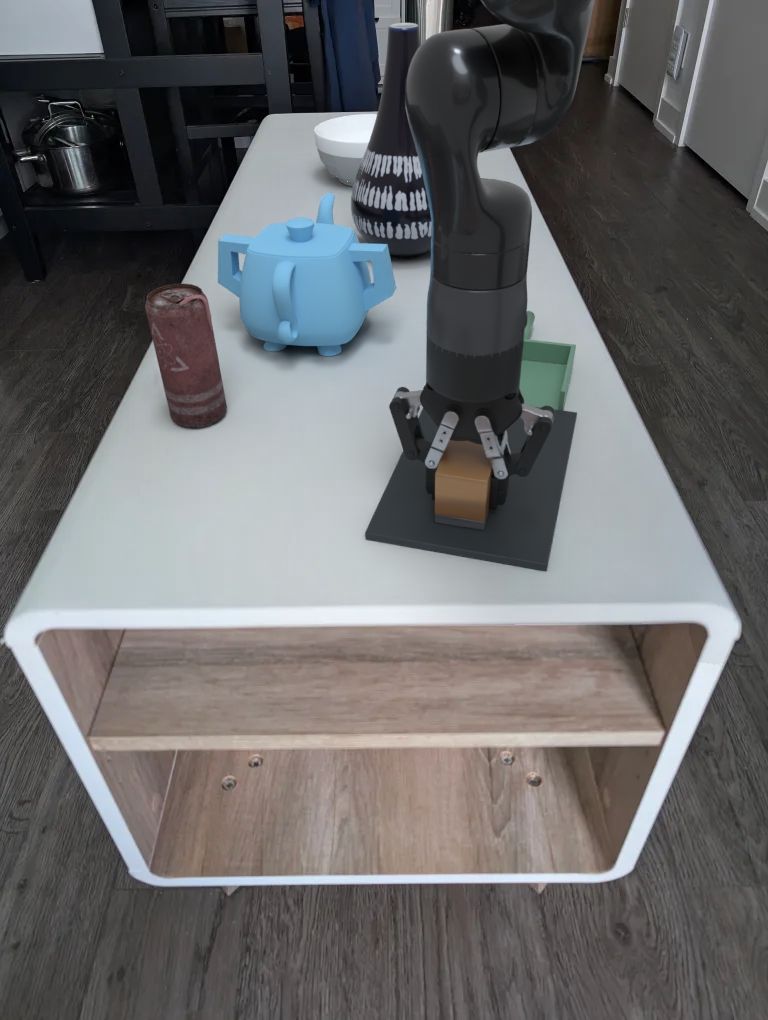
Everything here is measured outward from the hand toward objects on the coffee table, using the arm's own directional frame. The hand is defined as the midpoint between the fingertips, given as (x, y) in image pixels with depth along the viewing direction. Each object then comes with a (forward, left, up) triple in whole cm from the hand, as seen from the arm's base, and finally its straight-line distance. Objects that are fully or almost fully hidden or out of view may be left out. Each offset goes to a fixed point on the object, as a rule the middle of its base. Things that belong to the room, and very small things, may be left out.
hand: (466, 499), depth 72 cm
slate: (+4, -5, -2) cm, 6 cm away
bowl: (+86, -45, -2) cm, 97 cm away
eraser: (0, 0, -1) cm, 1 cm away
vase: (+54, -31, -2) cm, 62 cm away
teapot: (+40, -7, -2) cm, 41 cm away
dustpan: (+18, -22, -2) cm, 28 cm away
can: (+30, +13, -2) cm, 33 cm away
